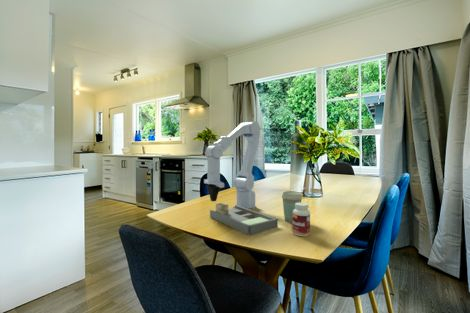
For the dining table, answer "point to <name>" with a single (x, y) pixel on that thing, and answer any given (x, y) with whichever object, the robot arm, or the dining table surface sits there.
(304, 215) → the pill bottle
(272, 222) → the box
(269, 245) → the dining table surface
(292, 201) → the coffee cup
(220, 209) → the birch block
